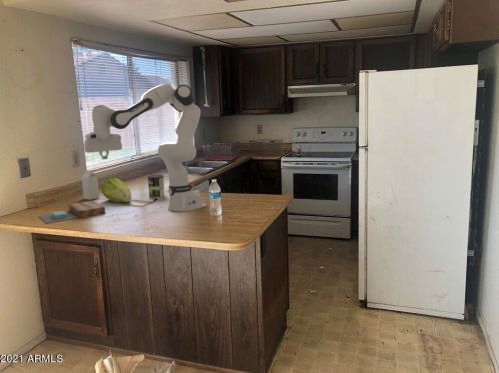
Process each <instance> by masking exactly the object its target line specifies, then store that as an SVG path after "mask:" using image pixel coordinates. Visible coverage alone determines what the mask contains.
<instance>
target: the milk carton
mask: <svg viewBox="0 0 499 373" xmlns="http://www.w3.org/2000/svg"><path fill="white" fill-rule="evenodd" d="M84 171H85V172H84V173H83V174H82V176H81V184H82V194H83V200H87V201H88V200H89V201H93V200H95V199H100V192H99V191H100V190H99V182H98V181H99V179H98V175H96V174H95V173H94V172H93V170H89V169H88V170H87V169H86V170H84Z"/></svg>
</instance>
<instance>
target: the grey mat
mask: <svg viewBox="0 0 499 373" xmlns="http://www.w3.org/2000/svg"><path fill="white" fill-rule="evenodd" d="M65 212H66V213H67V217H65V218H59V219H55V218H54V217H53V216H52V213H50V214H48V213H47V214H42V215H38V217H39V218H40V219H41V220H42V221H43V222H44V223H45V224H53V223H58V222H63V221H69V220H77V219H78V216H76V215H75V214H73V213H72V212H70V211H69V210H67V211H65Z"/></svg>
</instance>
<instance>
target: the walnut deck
mask: <svg viewBox="0 0 499 373" xmlns="http://www.w3.org/2000/svg"><path fill="white" fill-rule="evenodd" d="M68 211H69V212H70V213H72V214H73V215H74V216H76V217H77V218H79V219H83V218H90V217H95V216H100V215H101V216H102V215H106V207H105V206H104V205H101V204H100V203H98V202H96V201H94V200H89V201H88V200H87V201H83V202H76V203H69V204H68Z"/></svg>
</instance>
